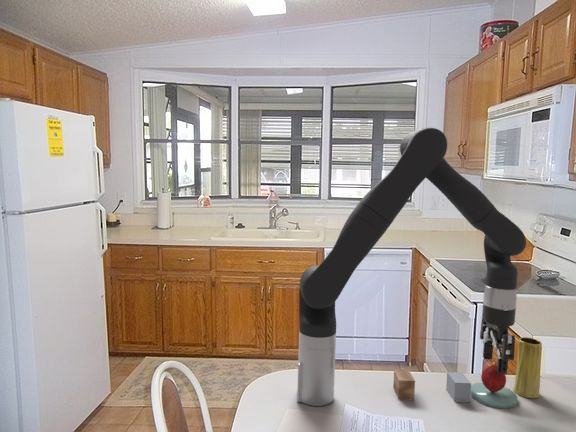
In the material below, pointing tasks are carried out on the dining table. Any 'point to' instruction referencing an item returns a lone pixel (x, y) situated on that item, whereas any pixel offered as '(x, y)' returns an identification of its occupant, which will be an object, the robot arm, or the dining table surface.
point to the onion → (493, 378)
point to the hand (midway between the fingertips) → (494, 365)
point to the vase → (528, 368)
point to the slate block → (458, 387)
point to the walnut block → (404, 384)
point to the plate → (493, 396)
